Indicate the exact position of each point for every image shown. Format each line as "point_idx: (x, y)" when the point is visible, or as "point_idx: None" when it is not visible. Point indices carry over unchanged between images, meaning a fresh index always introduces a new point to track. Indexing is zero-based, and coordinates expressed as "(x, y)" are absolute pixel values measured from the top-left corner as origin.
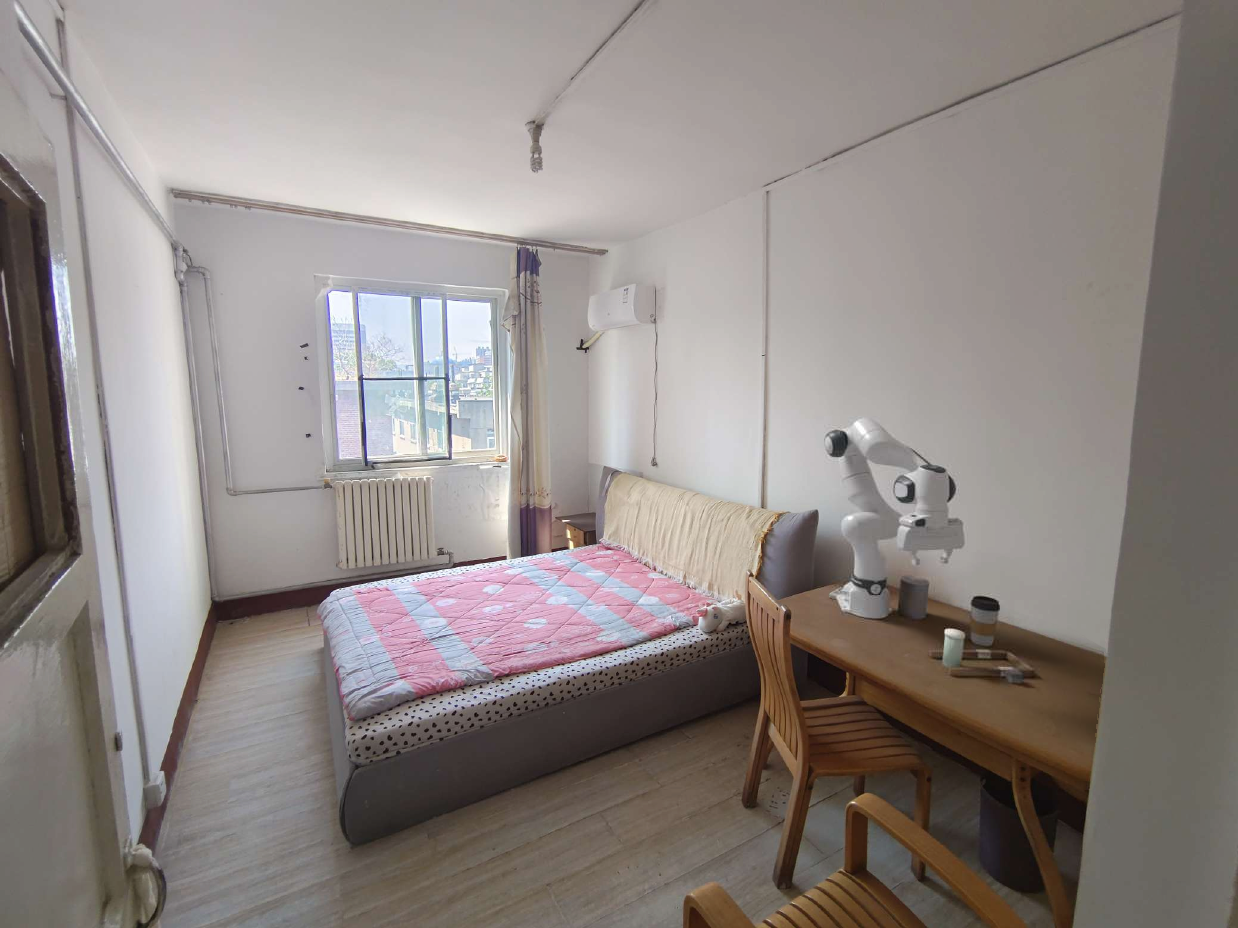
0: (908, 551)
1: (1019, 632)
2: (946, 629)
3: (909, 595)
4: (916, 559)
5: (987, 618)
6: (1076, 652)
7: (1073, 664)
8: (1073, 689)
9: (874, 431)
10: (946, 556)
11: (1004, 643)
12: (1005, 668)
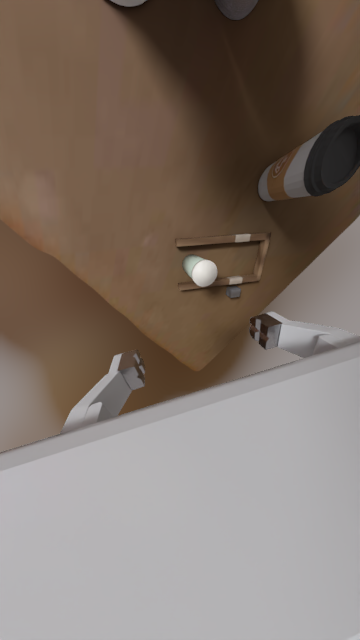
0: (67, 420)
1: None
2: (198, 264)
3: None
4: (126, 391)
5: (297, 195)
6: (345, 214)
7: (312, 247)
8: (266, 296)
9: None
10: (285, 345)
11: None
12: (235, 281)
